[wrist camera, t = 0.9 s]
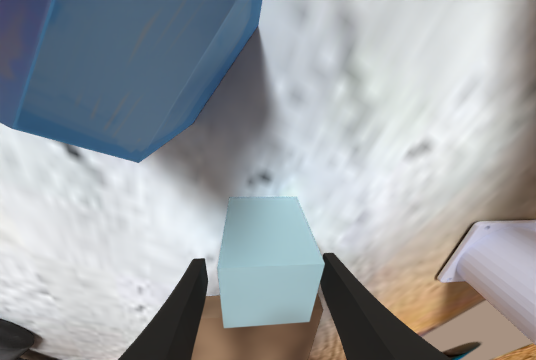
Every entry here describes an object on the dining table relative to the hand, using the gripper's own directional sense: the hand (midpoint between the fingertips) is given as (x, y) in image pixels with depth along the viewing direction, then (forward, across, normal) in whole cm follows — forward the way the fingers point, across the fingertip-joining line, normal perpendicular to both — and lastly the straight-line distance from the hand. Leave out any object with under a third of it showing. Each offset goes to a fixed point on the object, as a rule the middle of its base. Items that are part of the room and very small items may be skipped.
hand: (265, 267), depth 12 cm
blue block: (+4, 0, 0) cm, 4 cm away
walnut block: (+4, +1, +15) cm, 16 cm away
